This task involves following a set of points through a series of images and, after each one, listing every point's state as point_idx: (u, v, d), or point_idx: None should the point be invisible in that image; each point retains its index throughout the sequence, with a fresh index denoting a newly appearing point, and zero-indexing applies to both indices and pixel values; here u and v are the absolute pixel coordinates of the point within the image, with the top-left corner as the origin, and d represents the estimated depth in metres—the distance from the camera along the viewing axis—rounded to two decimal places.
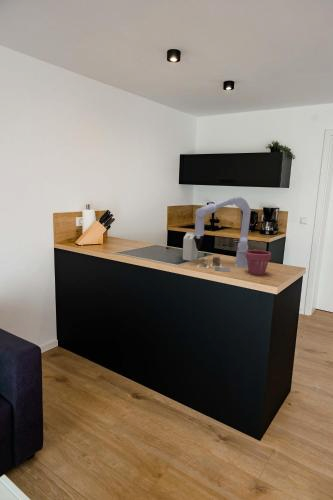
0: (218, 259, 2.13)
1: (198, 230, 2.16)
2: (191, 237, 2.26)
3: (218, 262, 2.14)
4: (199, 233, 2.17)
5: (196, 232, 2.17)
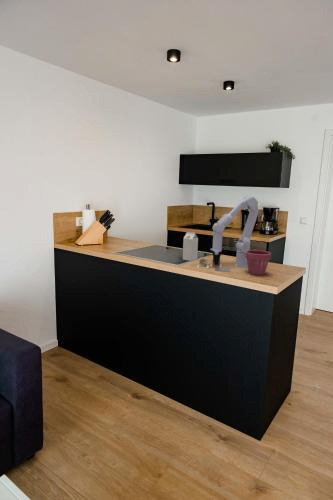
0: None
1: (216, 246, 2.11)
2: (191, 237, 2.26)
3: (218, 262, 2.14)
4: (217, 249, 2.12)
5: (214, 248, 2.12)
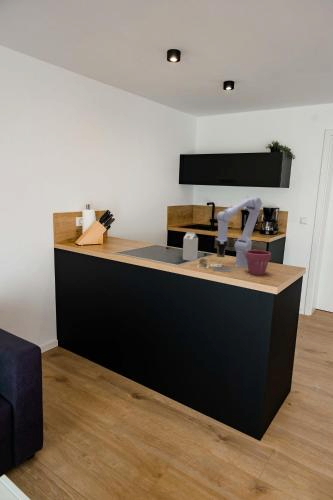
0: None
1: (221, 235, 2.02)
2: (191, 237, 2.26)
3: (223, 253, 2.05)
4: (222, 238, 2.02)
5: (219, 237, 2.03)
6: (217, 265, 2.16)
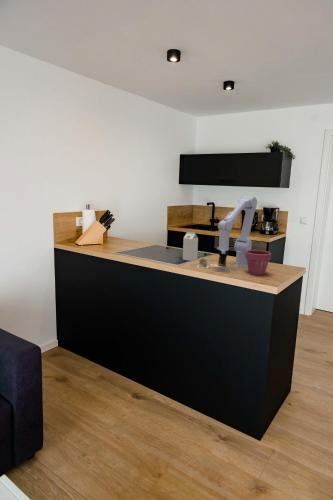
0: None
1: (223, 244, 2.00)
2: (191, 237, 2.26)
3: None
4: (224, 248, 2.01)
5: (221, 246, 2.01)
6: (217, 265, 2.16)
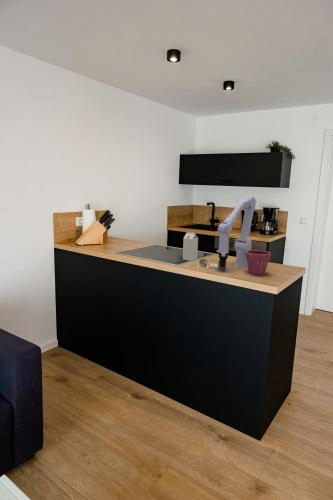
0: None
1: (223, 247, 2.01)
2: (191, 237, 2.26)
3: None
4: (224, 250, 2.01)
5: (220, 249, 2.02)
6: (217, 265, 2.16)
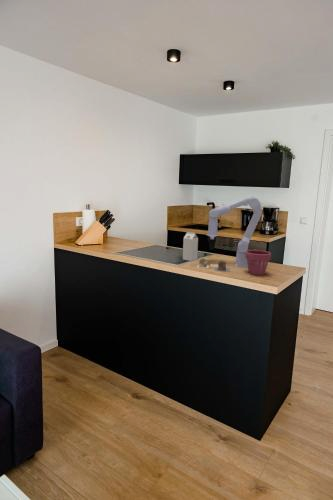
0: (224, 263, 2.03)
1: (212, 231, 2.16)
2: (191, 237, 2.26)
3: (224, 266, 2.03)
4: (213, 234, 2.16)
5: (210, 233, 2.17)
6: (217, 265, 2.16)
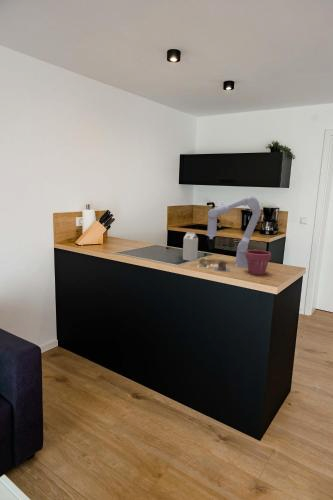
0: (224, 263, 2.03)
1: (211, 231, 2.17)
2: (191, 237, 2.26)
3: (224, 266, 2.03)
4: (212, 233, 2.17)
5: (209, 232, 2.18)
6: (217, 265, 2.16)
